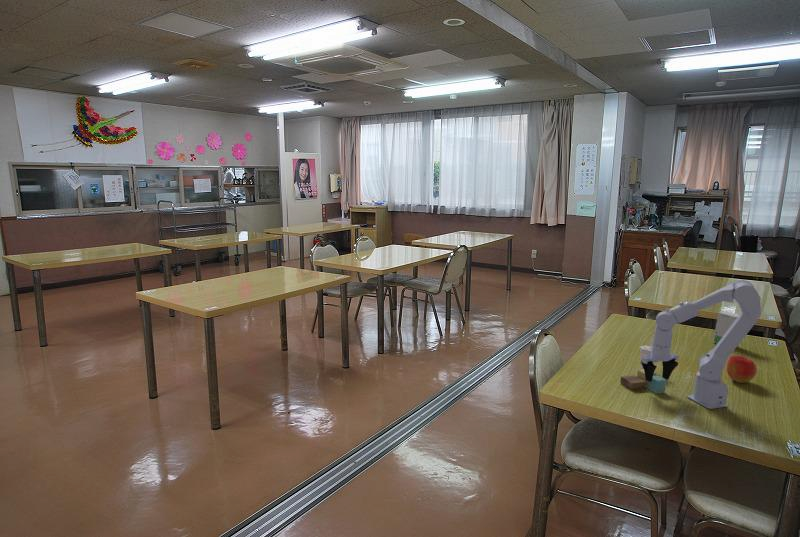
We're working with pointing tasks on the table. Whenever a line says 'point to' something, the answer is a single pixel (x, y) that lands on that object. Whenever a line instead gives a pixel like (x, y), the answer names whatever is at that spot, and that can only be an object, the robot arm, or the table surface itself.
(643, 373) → the mustard block
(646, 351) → the smoothie
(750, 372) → the apple
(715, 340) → the skincare box
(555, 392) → the table surface
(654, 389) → the teal block
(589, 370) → the table surface
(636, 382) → the walnut slab
